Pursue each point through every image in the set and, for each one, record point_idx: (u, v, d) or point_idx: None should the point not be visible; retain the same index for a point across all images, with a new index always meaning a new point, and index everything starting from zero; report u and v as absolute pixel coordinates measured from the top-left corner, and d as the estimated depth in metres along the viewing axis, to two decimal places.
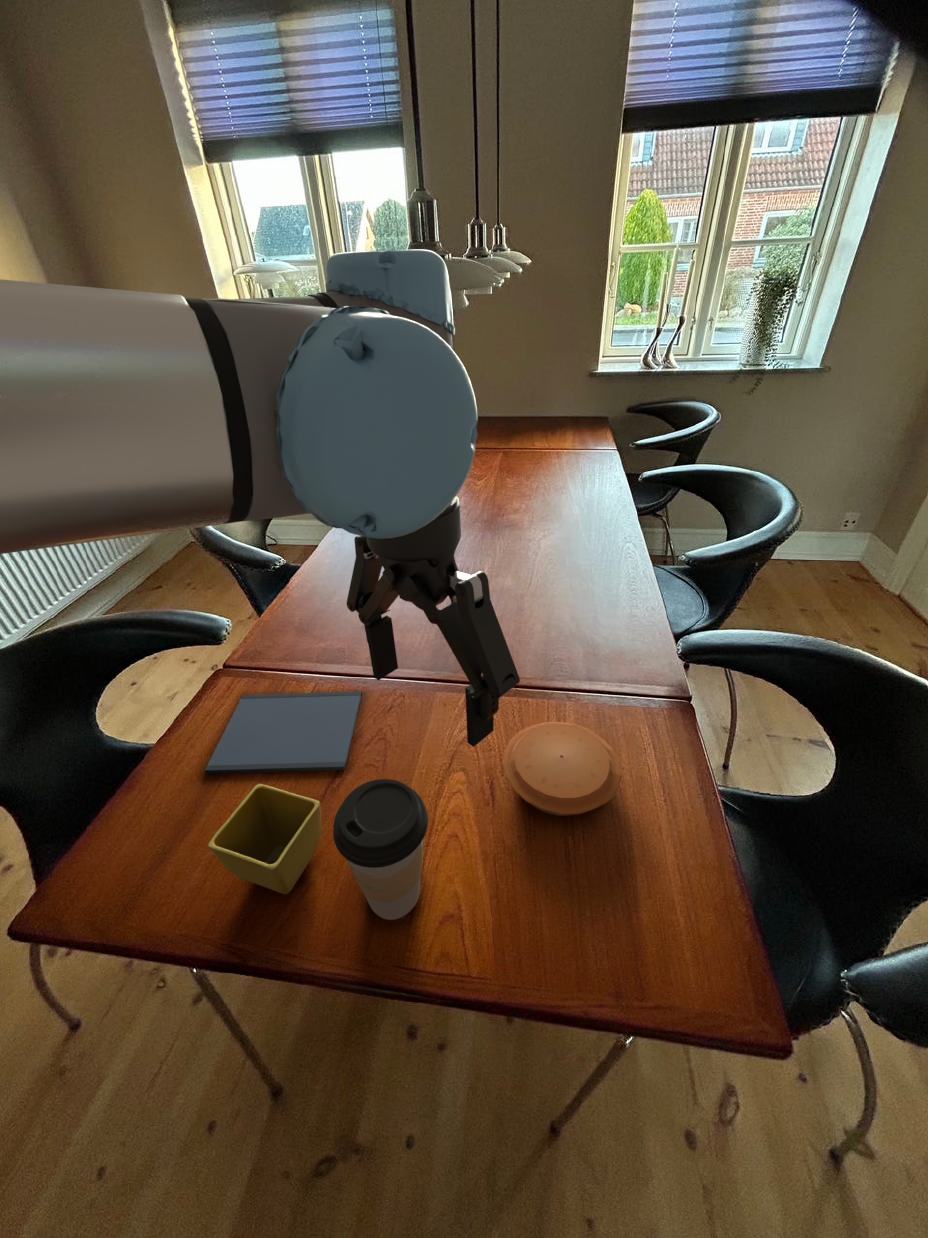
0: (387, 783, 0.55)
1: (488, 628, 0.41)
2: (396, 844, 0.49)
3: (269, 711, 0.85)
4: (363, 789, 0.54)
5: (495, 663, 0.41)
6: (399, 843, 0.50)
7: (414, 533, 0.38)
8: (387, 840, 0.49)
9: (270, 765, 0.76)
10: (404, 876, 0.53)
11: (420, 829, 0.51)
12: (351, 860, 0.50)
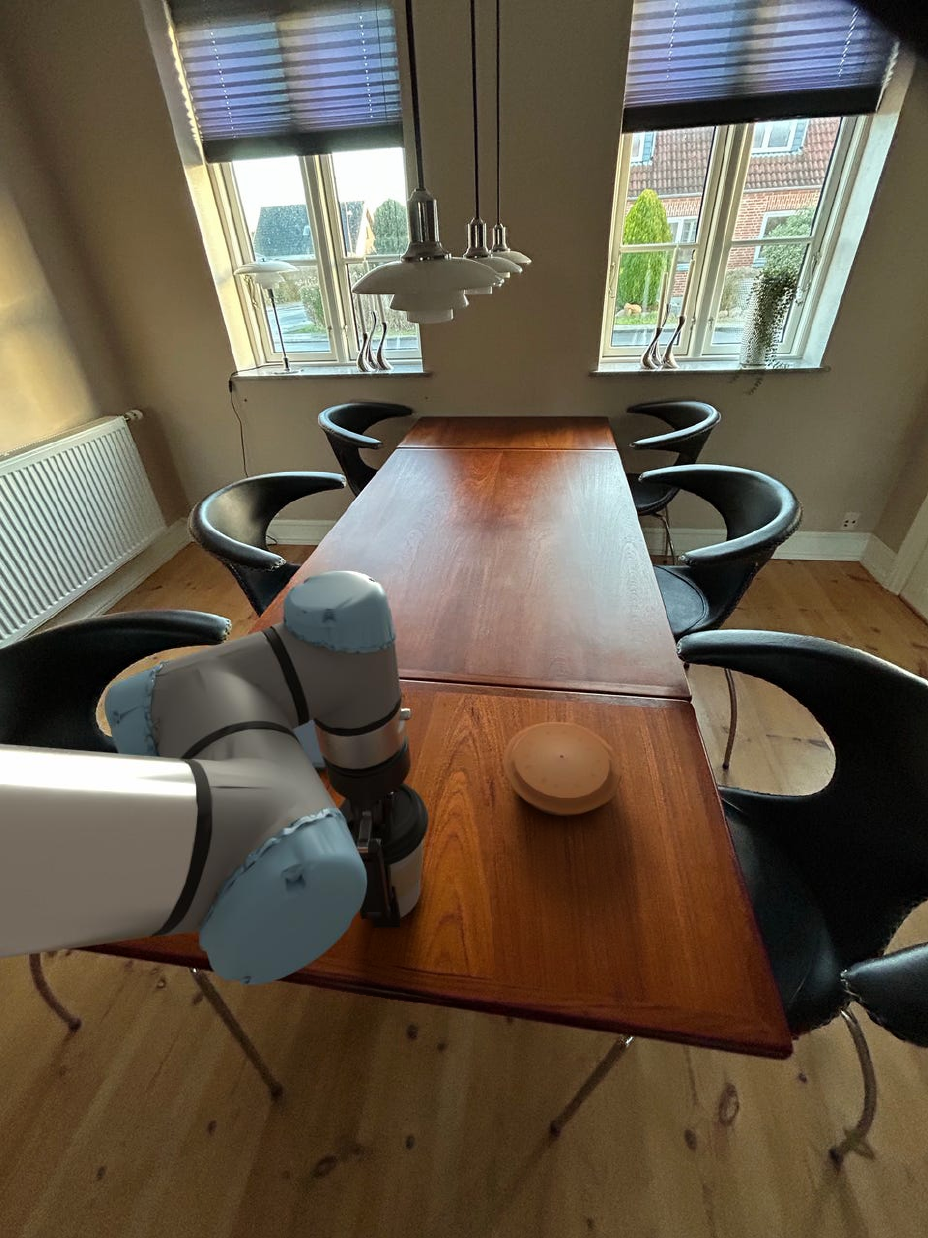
0: None
1: (368, 878, 0.46)
2: (396, 844, 0.49)
3: None
4: None
5: (365, 900, 0.47)
6: (399, 843, 0.50)
7: (334, 777, 0.45)
8: (387, 840, 0.49)
9: None
10: (404, 876, 0.53)
11: (421, 829, 0.51)
12: None
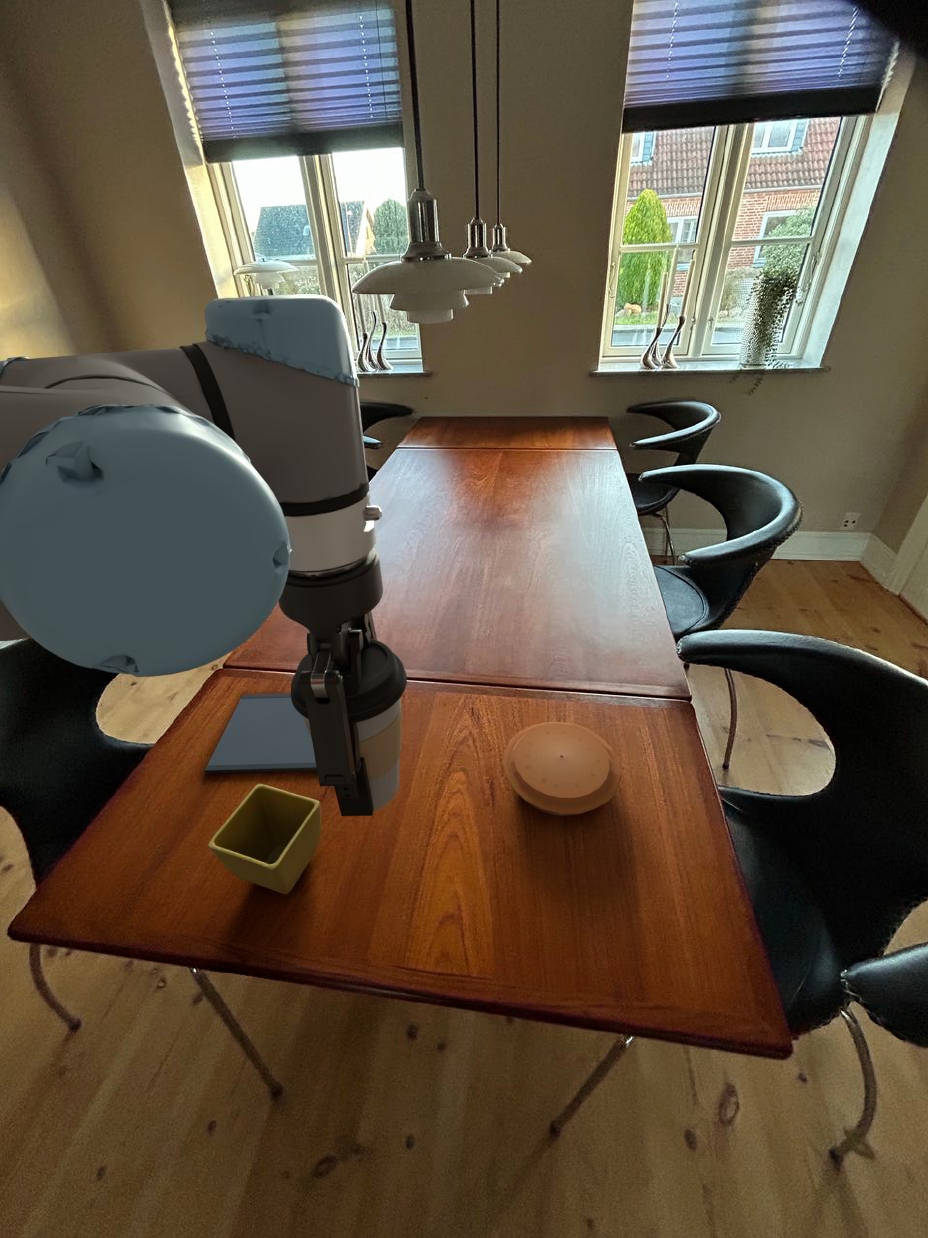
0: None
1: (327, 726, 0.37)
2: (365, 697, 0.40)
3: (269, 711, 0.85)
4: None
5: (323, 758, 0.38)
6: (369, 696, 0.40)
7: (283, 592, 0.35)
8: (354, 691, 0.40)
9: (270, 765, 0.76)
10: (377, 747, 0.43)
11: (397, 686, 0.42)
12: None
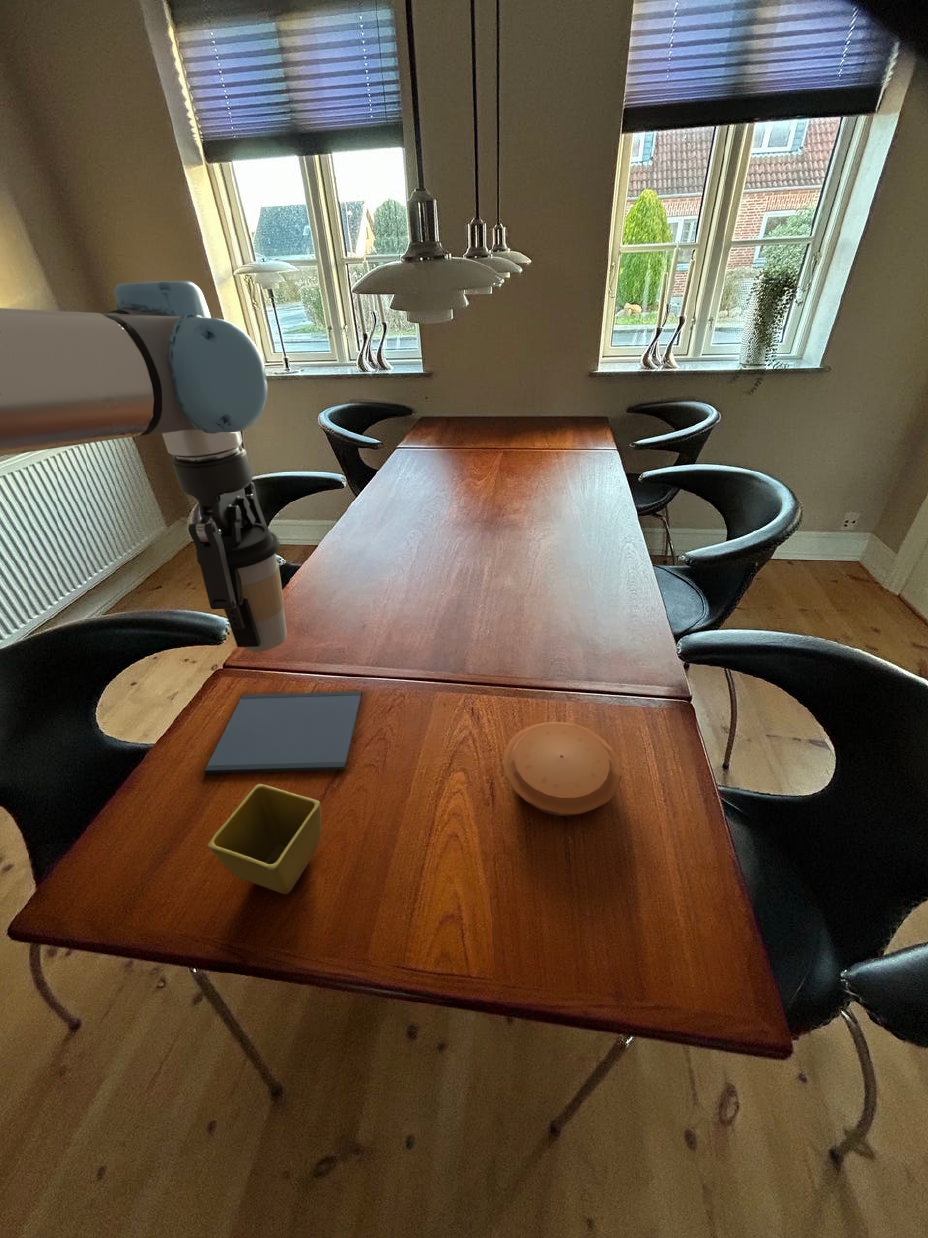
0: None
1: (211, 563, 0.57)
2: (243, 551, 0.60)
3: (269, 711, 0.85)
4: None
5: (211, 587, 0.58)
6: (245, 551, 0.60)
7: (178, 473, 0.55)
8: None
9: (270, 765, 0.76)
10: (257, 593, 0.63)
11: (268, 548, 0.62)
12: None
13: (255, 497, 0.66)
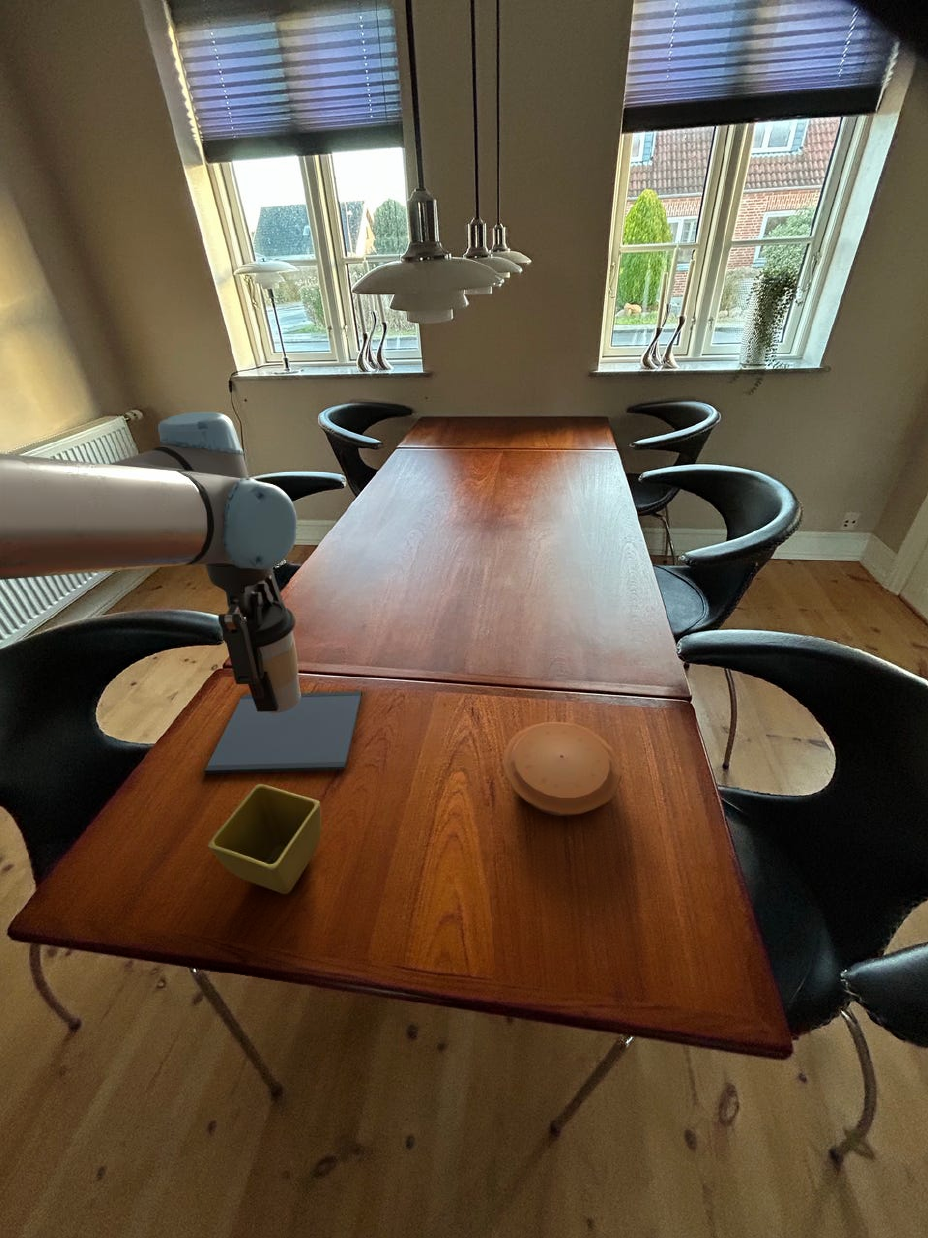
0: None
1: (237, 646, 0.64)
2: (264, 632, 0.68)
3: None
4: None
5: (236, 666, 0.66)
6: (266, 632, 0.68)
7: (209, 570, 0.63)
8: (257, 629, 0.68)
9: (270, 765, 0.76)
10: (276, 666, 0.71)
11: (285, 627, 0.70)
12: None
13: (272, 577, 0.74)
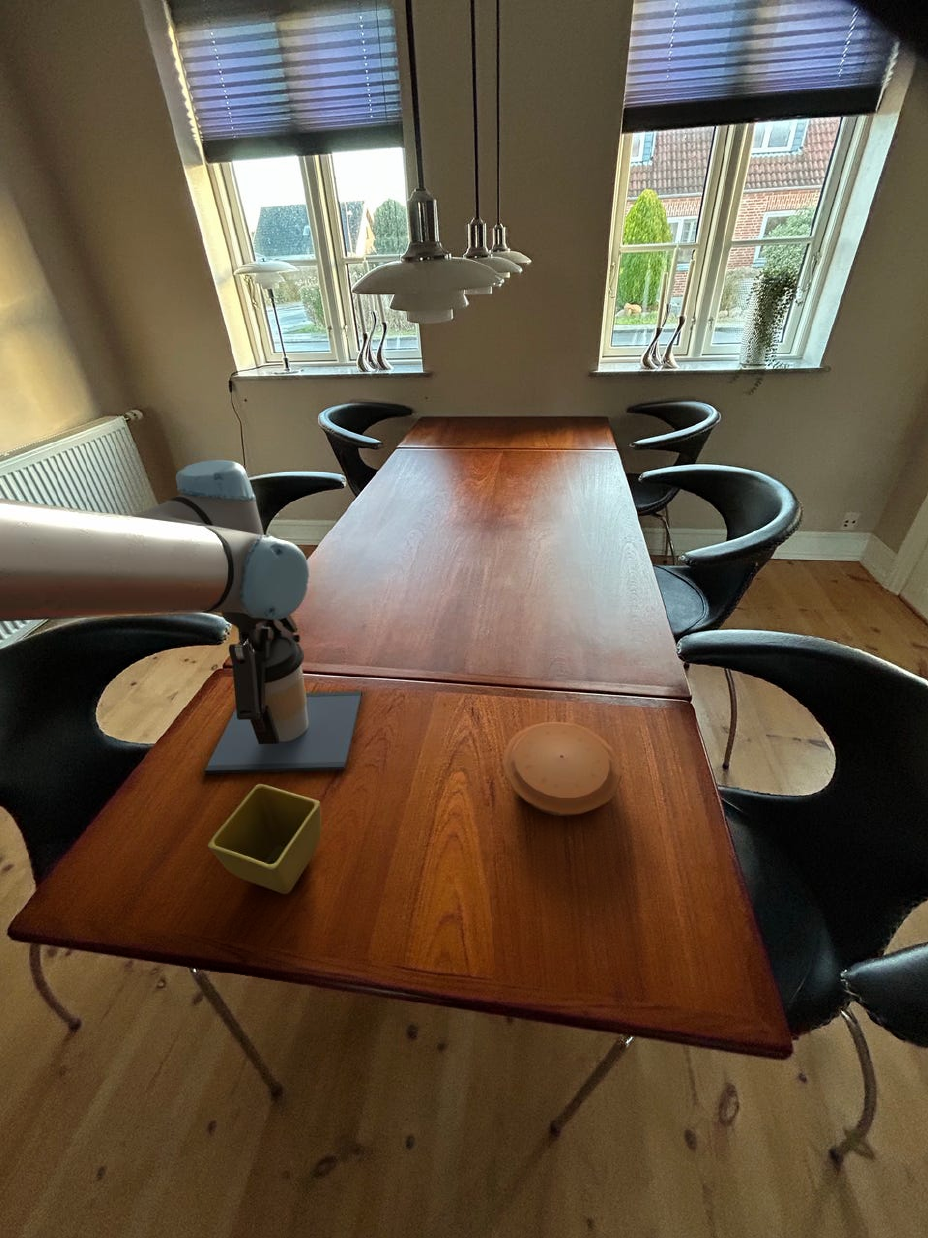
0: (276, 636, 0.76)
1: (243, 678, 0.66)
2: (274, 667, 0.71)
3: None
4: None
5: (240, 699, 0.66)
6: (277, 667, 0.71)
7: None
8: (267, 664, 0.71)
9: (270, 765, 0.76)
10: (285, 698, 0.74)
11: (295, 662, 0.73)
12: None
13: None
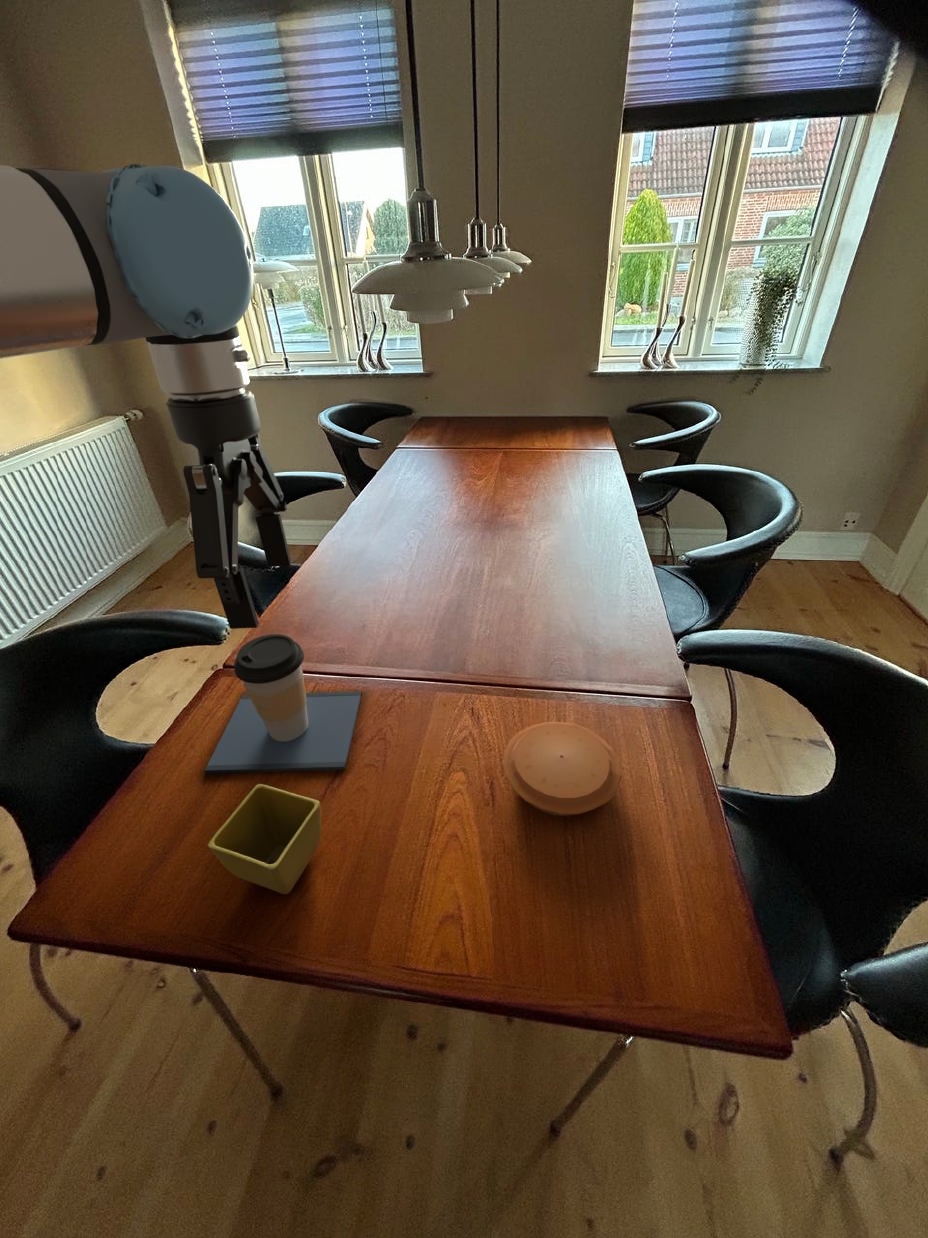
0: (276, 636, 0.76)
1: (204, 515, 0.47)
2: (274, 667, 0.71)
3: None
4: (258, 639, 0.76)
5: (201, 546, 0.47)
6: (277, 667, 0.71)
7: (174, 416, 0.47)
8: (267, 664, 0.71)
9: (270, 765, 0.76)
10: (285, 698, 0.74)
11: (295, 662, 0.73)
12: (243, 679, 0.71)
13: (260, 446, 0.57)
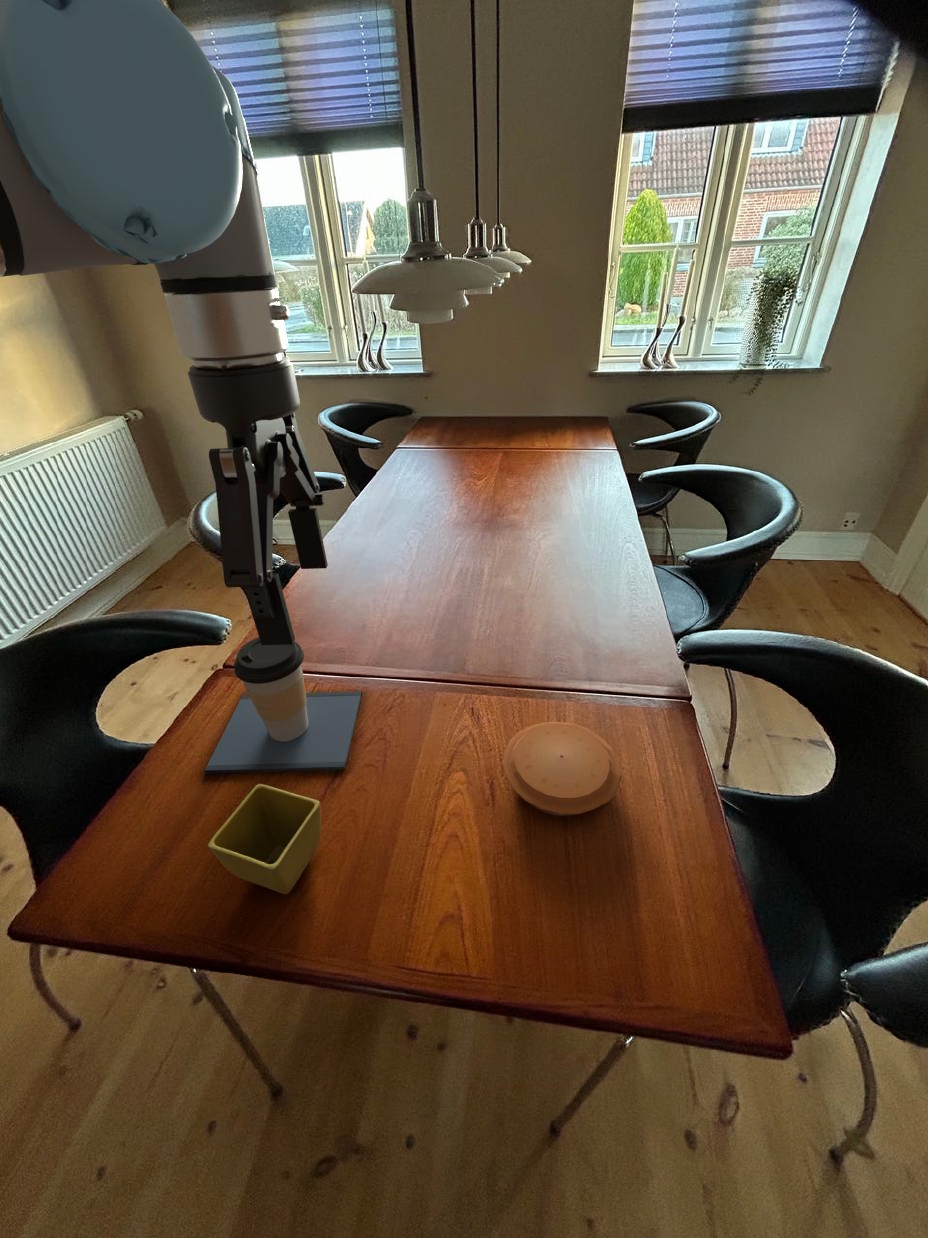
0: None
1: (234, 510, 0.38)
2: (274, 667, 0.71)
3: None
4: (258, 639, 0.76)
5: (230, 548, 0.38)
6: (277, 667, 0.71)
7: (197, 387, 0.38)
8: (267, 664, 0.71)
9: (270, 765, 0.76)
10: (285, 698, 0.74)
11: (295, 662, 0.73)
12: (243, 679, 0.71)
13: (295, 428, 0.48)
